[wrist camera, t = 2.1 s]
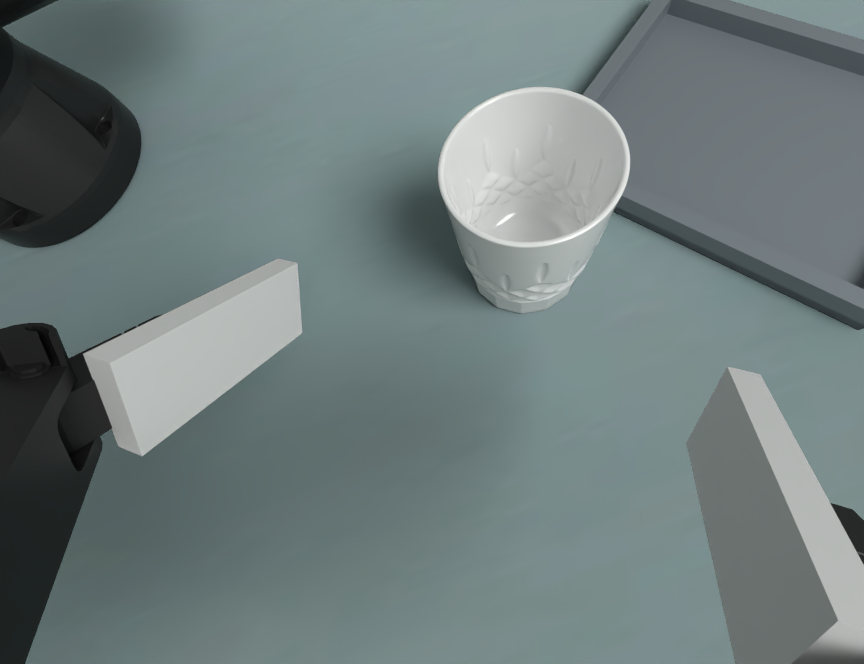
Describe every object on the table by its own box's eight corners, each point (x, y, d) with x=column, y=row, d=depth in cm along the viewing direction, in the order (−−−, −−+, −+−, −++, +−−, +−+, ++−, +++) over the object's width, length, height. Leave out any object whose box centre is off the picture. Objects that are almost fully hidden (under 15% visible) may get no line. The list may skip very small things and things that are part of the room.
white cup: (467, 210, 29) (446, 90, 20) (589, 209, 28) (629, 80, 18) (457, 320, 27) (428, 245, 18) (588, 326, 26) (632, 248, 16)
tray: (535, 173, 29) (537, 155, 28) (658, 7, 31) (666, -19, 30) (858, 330, 23) (886, 319, 21) (983, 110, 25) (1018, 85, 23)
